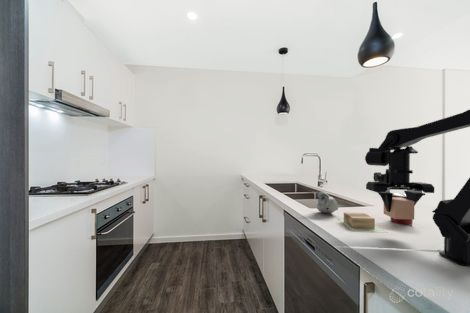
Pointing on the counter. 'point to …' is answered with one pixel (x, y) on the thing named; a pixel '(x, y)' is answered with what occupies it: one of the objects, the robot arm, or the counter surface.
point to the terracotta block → (401, 208)
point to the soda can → (401, 221)
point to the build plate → (377, 229)
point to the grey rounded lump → (326, 203)
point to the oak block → (359, 220)
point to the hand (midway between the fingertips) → (398, 211)
